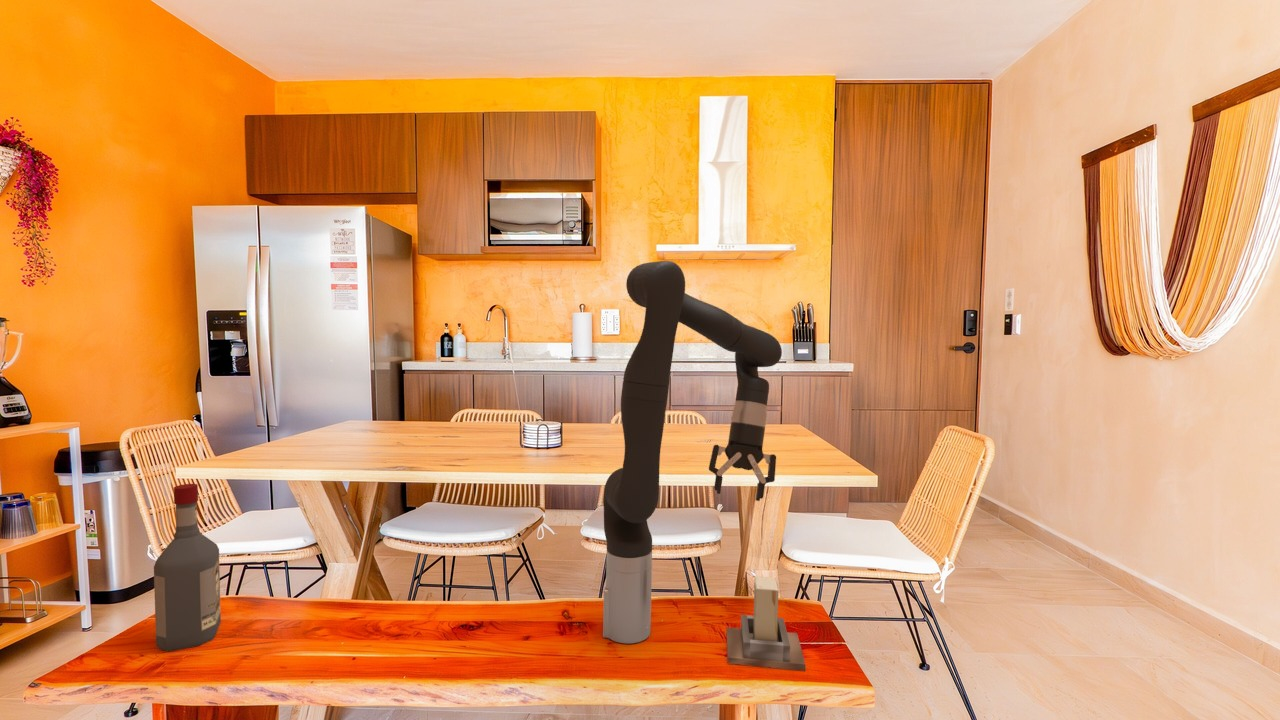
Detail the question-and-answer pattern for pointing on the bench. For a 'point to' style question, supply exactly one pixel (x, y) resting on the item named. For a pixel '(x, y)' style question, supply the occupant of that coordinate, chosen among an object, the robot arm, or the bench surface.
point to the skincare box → (765, 609)
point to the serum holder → (764, 647)
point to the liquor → (187, 581)
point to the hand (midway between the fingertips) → (737, 497)
